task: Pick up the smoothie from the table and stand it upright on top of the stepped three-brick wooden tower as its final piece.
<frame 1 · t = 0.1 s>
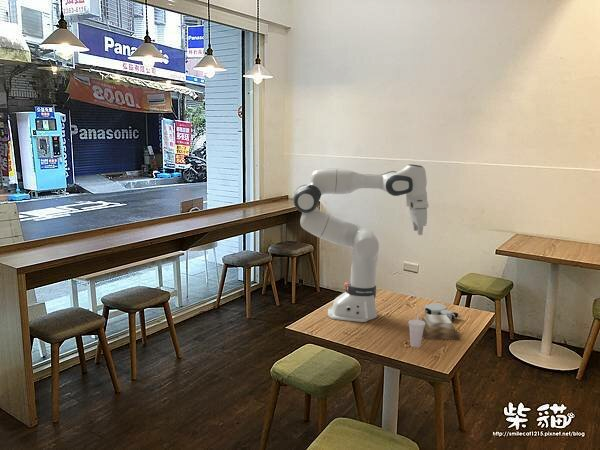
hand: (417, 232, 218), 39 cm above the table, tool pointing down, fingers open, 8 cm apart
smoothie: (415, 345, 194), on the table
robot toy: (440, 317, 225), on the table
brick tower: (437, 332, 207), on the table
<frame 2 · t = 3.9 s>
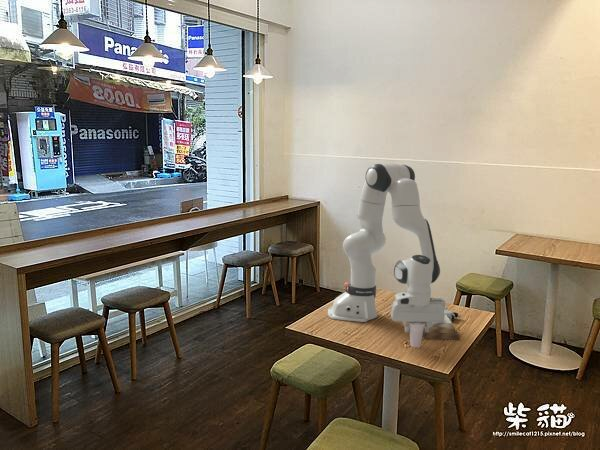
hand: (416, 331, 193), 6 cm above the table, tool pointing down, fingers closed on smoothie, 6 cm apart
smoothie: (415, 345, 194), on the table, touching gripper
everything else where it was.
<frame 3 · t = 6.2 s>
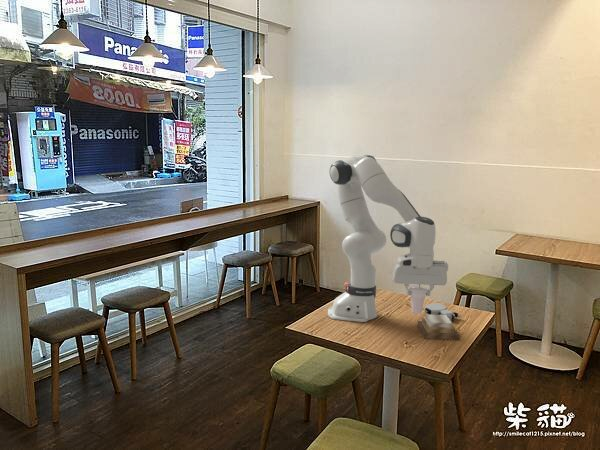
hand: (418, 294, 190), 21 cm above the table, tool pointing down, fingers closed on smoothie, 6 cm apart
smoothie: (416, 312, 191), point 13 cm above the table, touching gripper
everything else where it was.
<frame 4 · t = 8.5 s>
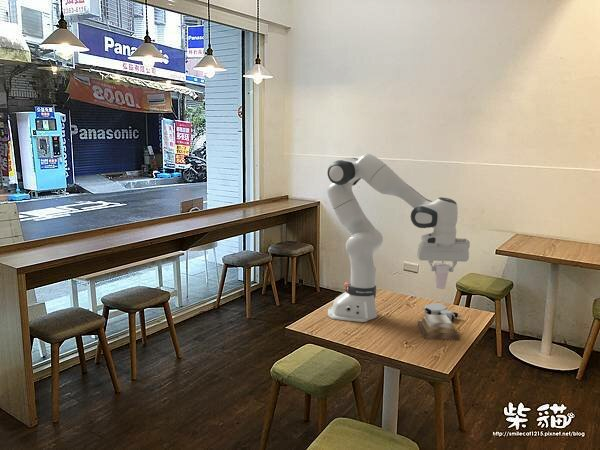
hand: (441, 271, 202), 26 cm above the table, tool pointing down, fingers closed on smoothie, 6 cm apart
smoothie: (440, 288, 203), point 19 cm above the table, touching gripper
everything else where it was.
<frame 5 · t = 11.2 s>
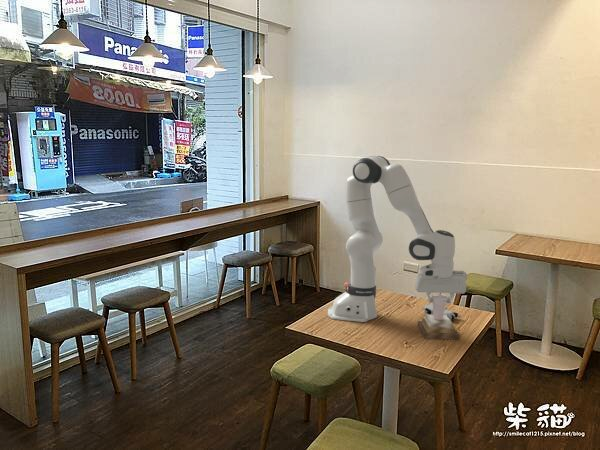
hand: (439, 302, 205), 13 cm above the table, tool pointing down, fingers closed on smoothie, 6 cm apart
smoothie: (437, 319, 206), point 6 cm above the table, touching gripper
everything else where it was.
when the fingers open (13 cm above the table, at t = 11.8 s): smoothie moves 1 cm, resting on brick tower.
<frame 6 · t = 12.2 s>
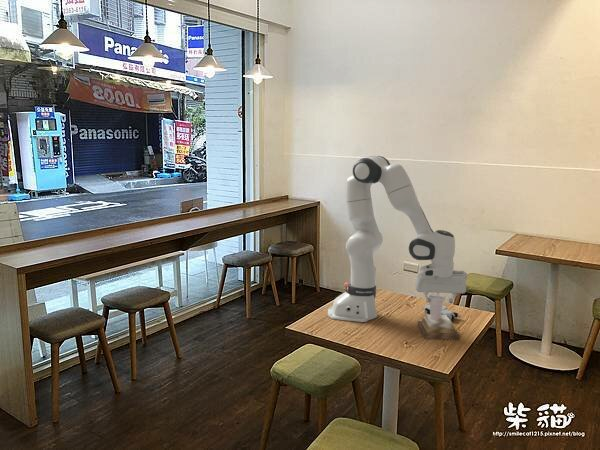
hand: (439, 302, 205), 13 cm above the table, tool pointing down, fingers open, 8 cm apart
smoothie: (434, 318, 206), point 6 cm above the table, touching brick tower, gripper
everything else where it was.
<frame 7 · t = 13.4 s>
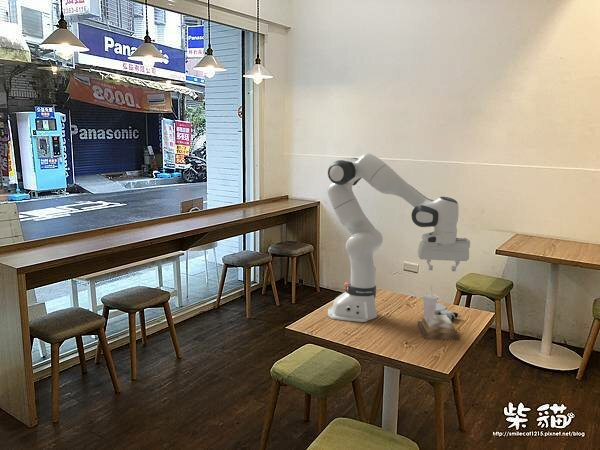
hand: (441, 270, 202), 27 cm above the table, tool pointing down, fingers open, 8 cm apart
smoothie: (428, 318, 206), point 6 cm above the table, touching brick tower
everything else where it was.
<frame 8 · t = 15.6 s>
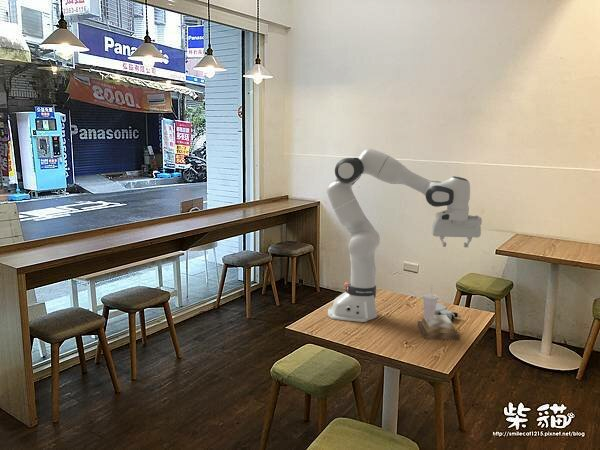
hand: (454, 246, 212), 34 cm above the table, tool pointing down, fingers open, 8 cm apart
nothing on the table moved.
at the end: smoothie inside the target area on the brick tower (3.9 cm from its centre), point 5.8 cm above the brick tower's base; smoothie tilted 0°; the gripper is holding nothing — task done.
